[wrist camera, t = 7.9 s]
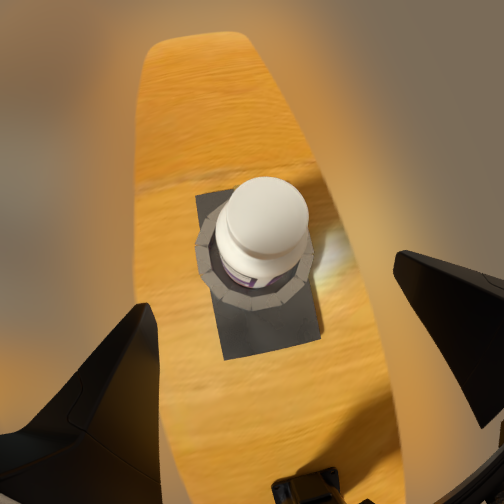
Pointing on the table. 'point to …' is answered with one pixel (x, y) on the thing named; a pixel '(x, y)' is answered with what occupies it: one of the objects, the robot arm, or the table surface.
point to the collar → (237, 298)
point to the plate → (260, 321)
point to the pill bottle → (262, 231)
